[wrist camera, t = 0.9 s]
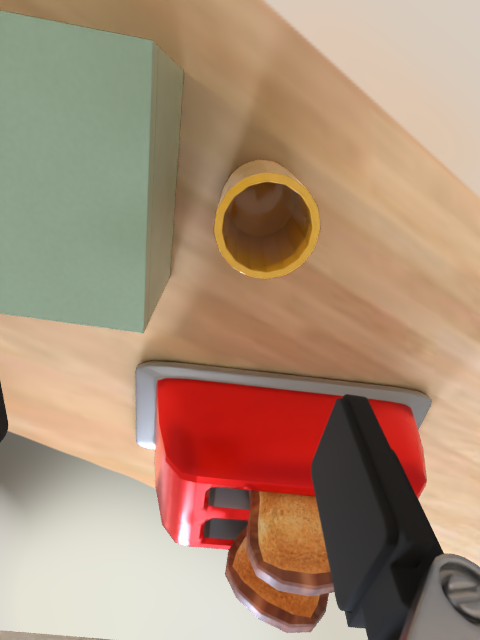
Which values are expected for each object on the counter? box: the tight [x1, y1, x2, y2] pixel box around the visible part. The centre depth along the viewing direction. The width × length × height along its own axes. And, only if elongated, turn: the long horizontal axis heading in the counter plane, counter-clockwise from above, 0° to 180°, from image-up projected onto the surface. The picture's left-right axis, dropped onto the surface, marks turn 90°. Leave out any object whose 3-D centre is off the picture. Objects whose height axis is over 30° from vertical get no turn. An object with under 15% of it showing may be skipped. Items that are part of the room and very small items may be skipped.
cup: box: [214, 160, 321, 279], centre depth 25 cm, size 6×6×9 cm
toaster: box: [136, 361, 432, 633], centre depth 33 cm, size 32×13×19 cm, turn 82°
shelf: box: [0, 10, 184, 333], centre depth 24 cm, size 16×14×10 cm
